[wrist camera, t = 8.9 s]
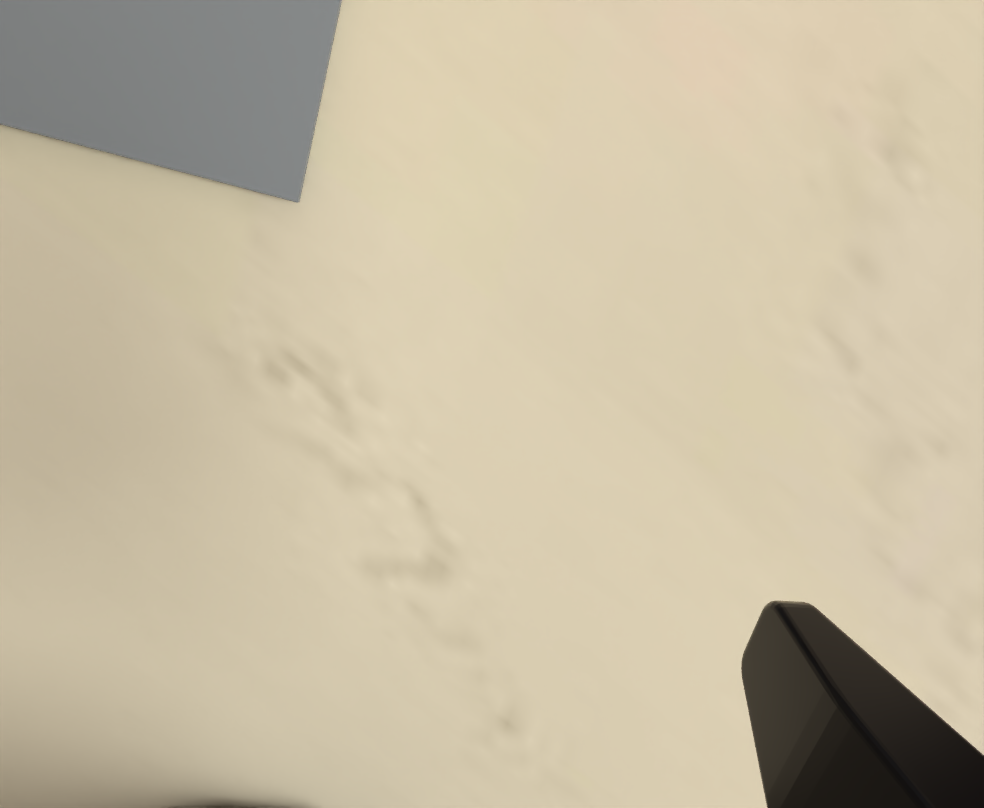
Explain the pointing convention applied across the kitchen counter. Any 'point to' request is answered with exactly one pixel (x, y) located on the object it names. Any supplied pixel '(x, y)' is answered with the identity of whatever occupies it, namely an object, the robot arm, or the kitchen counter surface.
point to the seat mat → (173, 82)
